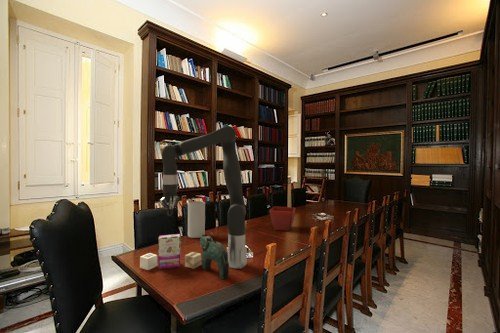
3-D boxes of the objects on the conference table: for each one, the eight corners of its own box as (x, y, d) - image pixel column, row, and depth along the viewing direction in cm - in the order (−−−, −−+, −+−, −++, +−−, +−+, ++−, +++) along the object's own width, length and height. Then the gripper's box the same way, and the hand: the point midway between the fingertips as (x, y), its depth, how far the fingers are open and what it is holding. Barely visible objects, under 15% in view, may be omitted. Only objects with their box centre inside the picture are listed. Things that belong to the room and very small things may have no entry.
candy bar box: (180, 263, 136) (180, 233, 135) (180, 267, 131) (180, 236, 130) (158, 265, 133) (159, 235, 132) (158, 269, 128) (158, 237, 127)
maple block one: (201, 264, 134) (201, 253, 134) (193, 268, 129) (193, 257, 129) (192, 262, 137) (192, 251, 137) (184, 266, 132) (184, 255, 132)
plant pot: (269, 230, 202) (269, 210, 202) (273, 225, 220) (273, 206, 220) (292, 232, 197) (292, 211, 196) (295, 226, 215) (295, 207, 215)
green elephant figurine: (198, 268, 130) (198, 230, 129) (208, 264, 134) (208, 228, 134) (221, 281, 116) (222, 239, 115) (232, 277, 120) (232, 236, 120)
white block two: (157, 266, 132) (157, 254, 132) (147, 270, 127) (147, 258, 127) (149, 263, 135) (149, 252, 135) (139, 267, 130) (140, 256, 129)
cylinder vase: (202, 238, 180) (203, 204, 179) (185, 238, 180) (185, 203, 180) (206, 233, 192) (206, 201, 192) (190, 233, 193) (190, 201, 192)
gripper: (165, 184, 123) (165, 219, 124) (184, 182, 135) (184, 214, 135) (155, 183, 127) (154, 217, 127) (174, 182, 138) (174, 212, 139)
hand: (169, 215), depth 131 cm, fingers closed
